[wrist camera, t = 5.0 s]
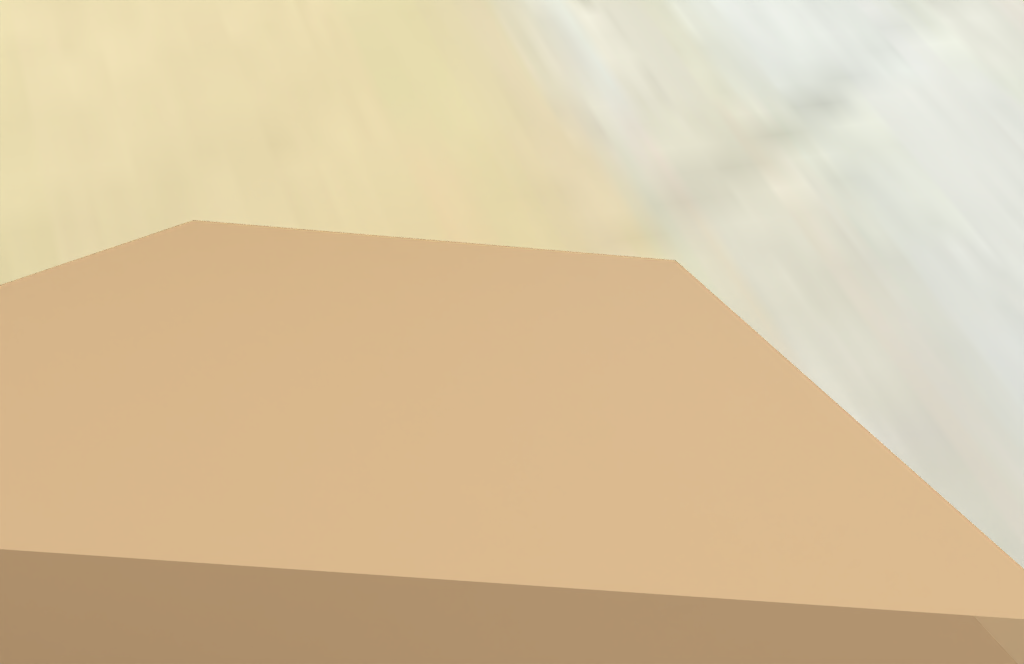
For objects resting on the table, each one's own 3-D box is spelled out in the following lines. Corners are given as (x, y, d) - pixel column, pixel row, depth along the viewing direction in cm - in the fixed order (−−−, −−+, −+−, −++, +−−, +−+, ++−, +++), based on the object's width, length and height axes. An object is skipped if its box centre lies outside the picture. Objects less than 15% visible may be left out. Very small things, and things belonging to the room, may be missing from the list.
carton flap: (1427, 1056, 3) (1492, 984, 3) (-1469, 911, 3) (-1592, 816, 2) (672, 280, 16) (675, 260, 16) (194, 240, 16) (193, 220, 16)
